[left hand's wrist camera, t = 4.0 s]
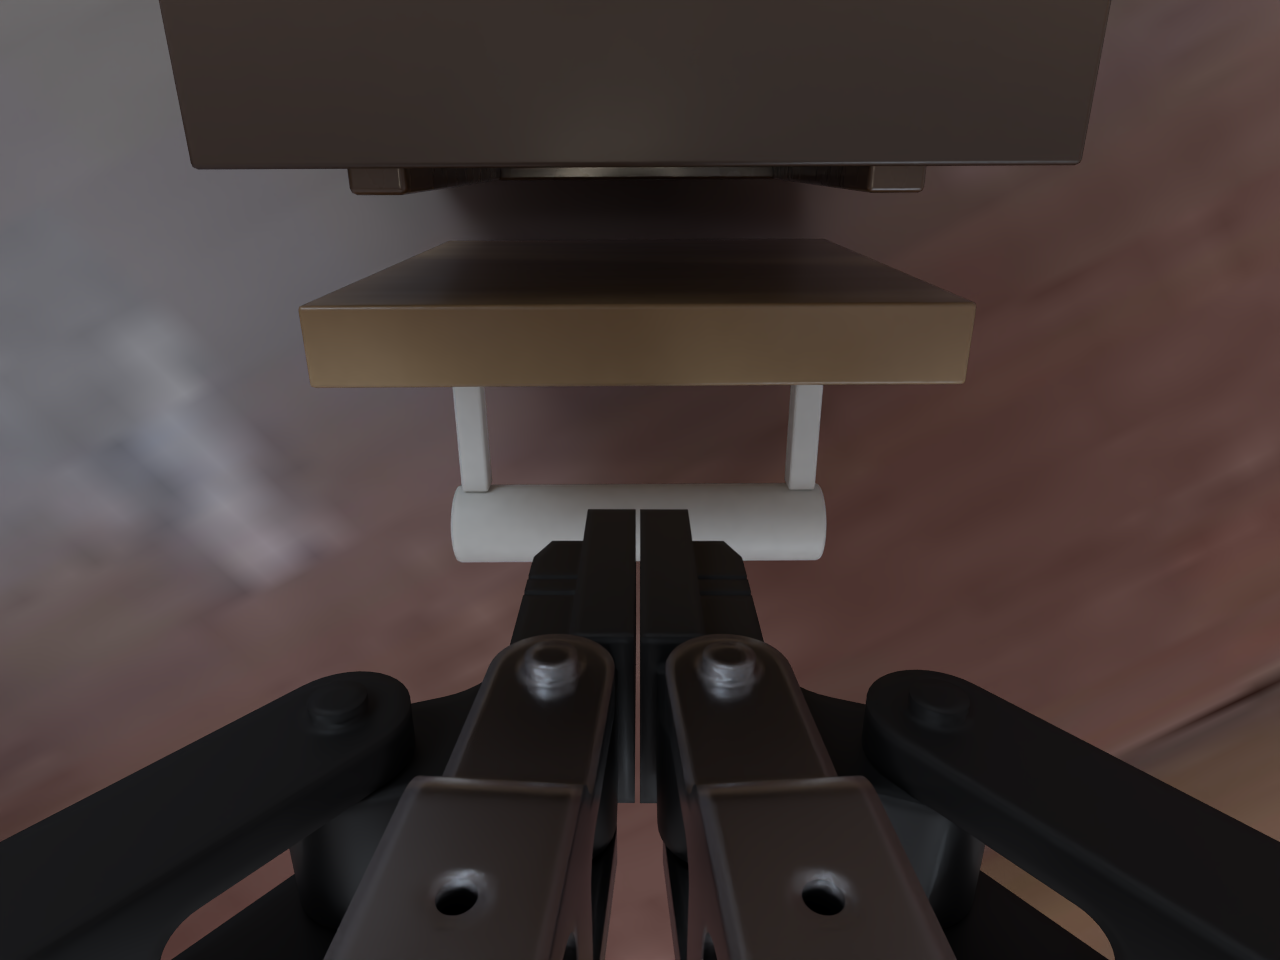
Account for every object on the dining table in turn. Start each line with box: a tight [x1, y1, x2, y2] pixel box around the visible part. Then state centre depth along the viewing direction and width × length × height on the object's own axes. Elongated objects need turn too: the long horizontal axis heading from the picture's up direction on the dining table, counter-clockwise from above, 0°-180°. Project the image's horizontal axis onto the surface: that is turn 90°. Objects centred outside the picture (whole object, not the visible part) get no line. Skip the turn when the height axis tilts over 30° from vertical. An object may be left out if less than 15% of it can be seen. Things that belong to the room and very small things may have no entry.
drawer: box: [299, 166, 976, 562], centre depth 14 cm, size 21×10×10 cm, turn 0°
